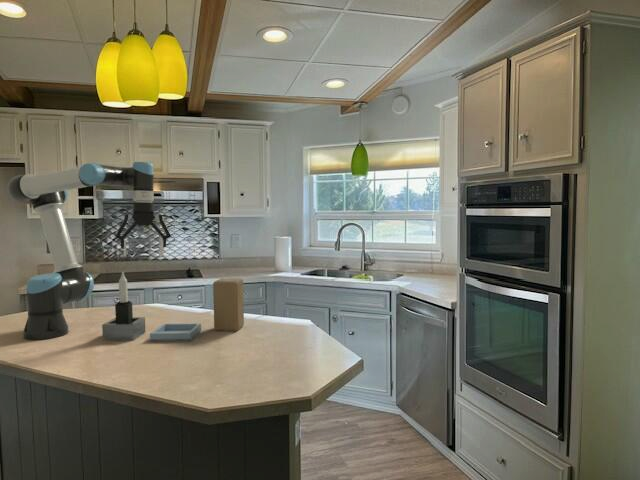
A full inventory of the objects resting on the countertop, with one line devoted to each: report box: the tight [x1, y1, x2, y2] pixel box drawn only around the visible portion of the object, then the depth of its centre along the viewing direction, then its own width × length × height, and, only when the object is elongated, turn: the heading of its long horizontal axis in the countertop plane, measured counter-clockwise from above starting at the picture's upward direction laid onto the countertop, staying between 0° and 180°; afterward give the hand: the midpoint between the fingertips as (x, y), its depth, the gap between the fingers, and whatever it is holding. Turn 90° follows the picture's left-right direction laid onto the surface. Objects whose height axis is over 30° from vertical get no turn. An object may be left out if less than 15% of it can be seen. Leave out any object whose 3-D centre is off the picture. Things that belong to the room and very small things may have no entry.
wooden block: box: [212, 277, 245, 332], centre depth 186 cm, size 10×10×20 cm
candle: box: [114, 271, 133, 324], centre depth 175 cm, size 5×5×25 cm
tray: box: [149, 322, 202, 343], centre depth 176 cm, size 15×15×3 cm
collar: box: [101, 316, 146, 342], centre depth 176 cm, size 12×12×6 cm
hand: (143, 256), depth 180 cm, fingers open, 13 cm apart
